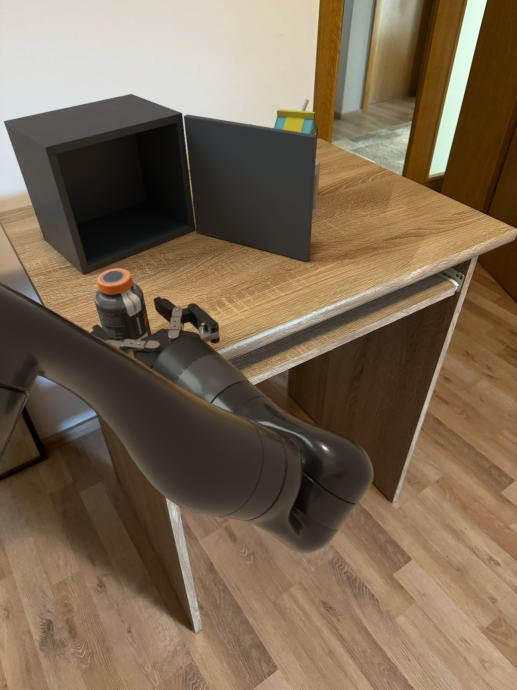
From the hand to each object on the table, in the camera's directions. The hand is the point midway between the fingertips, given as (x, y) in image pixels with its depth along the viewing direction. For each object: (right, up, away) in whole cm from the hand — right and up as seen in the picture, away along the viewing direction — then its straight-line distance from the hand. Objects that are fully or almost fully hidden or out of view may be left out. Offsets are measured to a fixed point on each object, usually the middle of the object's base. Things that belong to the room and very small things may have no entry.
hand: (127, 316), depth 61 cm
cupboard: (-9, +17, +29) cm, 34 cm away
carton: (+24, +26, +39) cm, 53 cm away
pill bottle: (-1, -4, +5) cm, 6 cm away
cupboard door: (+16, +16, +26) cm, 35 cm away
